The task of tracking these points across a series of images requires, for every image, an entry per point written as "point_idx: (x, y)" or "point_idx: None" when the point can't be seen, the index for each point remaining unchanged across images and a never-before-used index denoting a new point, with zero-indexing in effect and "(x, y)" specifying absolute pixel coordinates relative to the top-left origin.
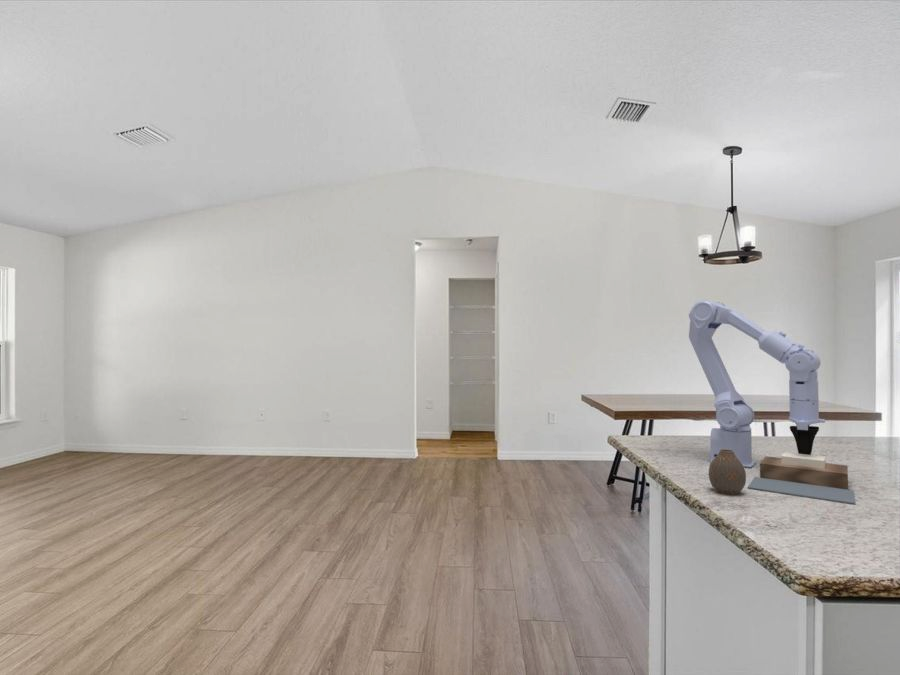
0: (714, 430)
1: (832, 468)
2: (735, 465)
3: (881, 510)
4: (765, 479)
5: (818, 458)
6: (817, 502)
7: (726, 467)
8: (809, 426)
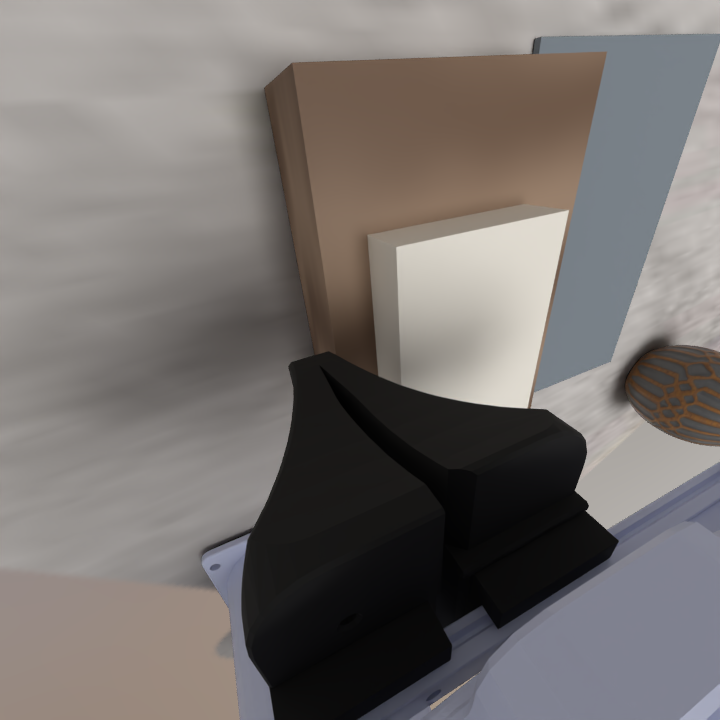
0: None
1: (487, 165)
2: None
3: None
4: None
5: (506, 261)
6: (697, 168)
7: None
8: (351, 641)
